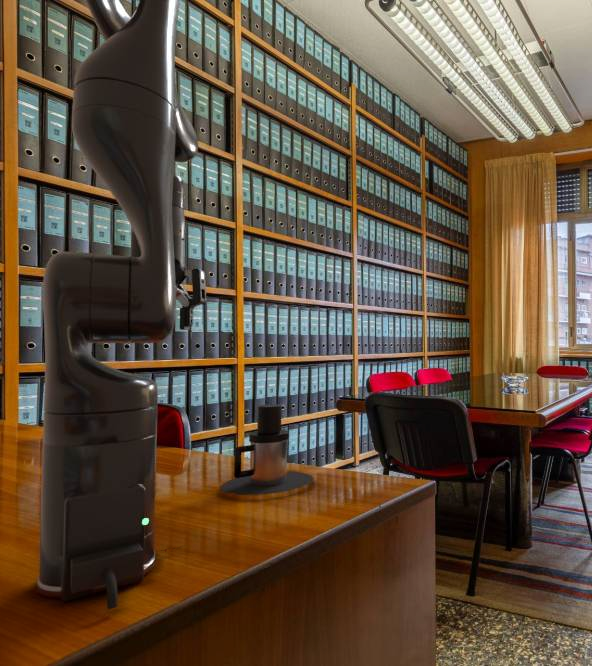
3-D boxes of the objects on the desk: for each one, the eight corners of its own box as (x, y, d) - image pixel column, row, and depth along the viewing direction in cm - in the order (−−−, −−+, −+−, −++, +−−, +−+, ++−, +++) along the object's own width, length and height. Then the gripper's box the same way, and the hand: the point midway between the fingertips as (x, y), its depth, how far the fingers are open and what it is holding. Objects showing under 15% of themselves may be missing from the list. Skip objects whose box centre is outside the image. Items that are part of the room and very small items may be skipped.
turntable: (327, 488, 83) (327, 482, 83) (236, 507, 73) (236, 500, 73) (293, 472, 93) (293, 467, 93) (209, 487, 83) (209, 481, 83)
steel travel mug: (280, 475, 87) (281, 402, 88) (293, 482, 83) (294, 405, 83) (228, 484, 81) (229, 406, 82) (239, 492, 77) (241, 410, 77)
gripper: (97, 226, 79) (95, 328, 79) (195, 230, 82) (193, 329, 81) (124, 237, 87) (121, 330, 86) (213, 240, 89) (211, 330, 89)
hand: (156, 329), depth 84 cm, fingers open, 8 cm apart
